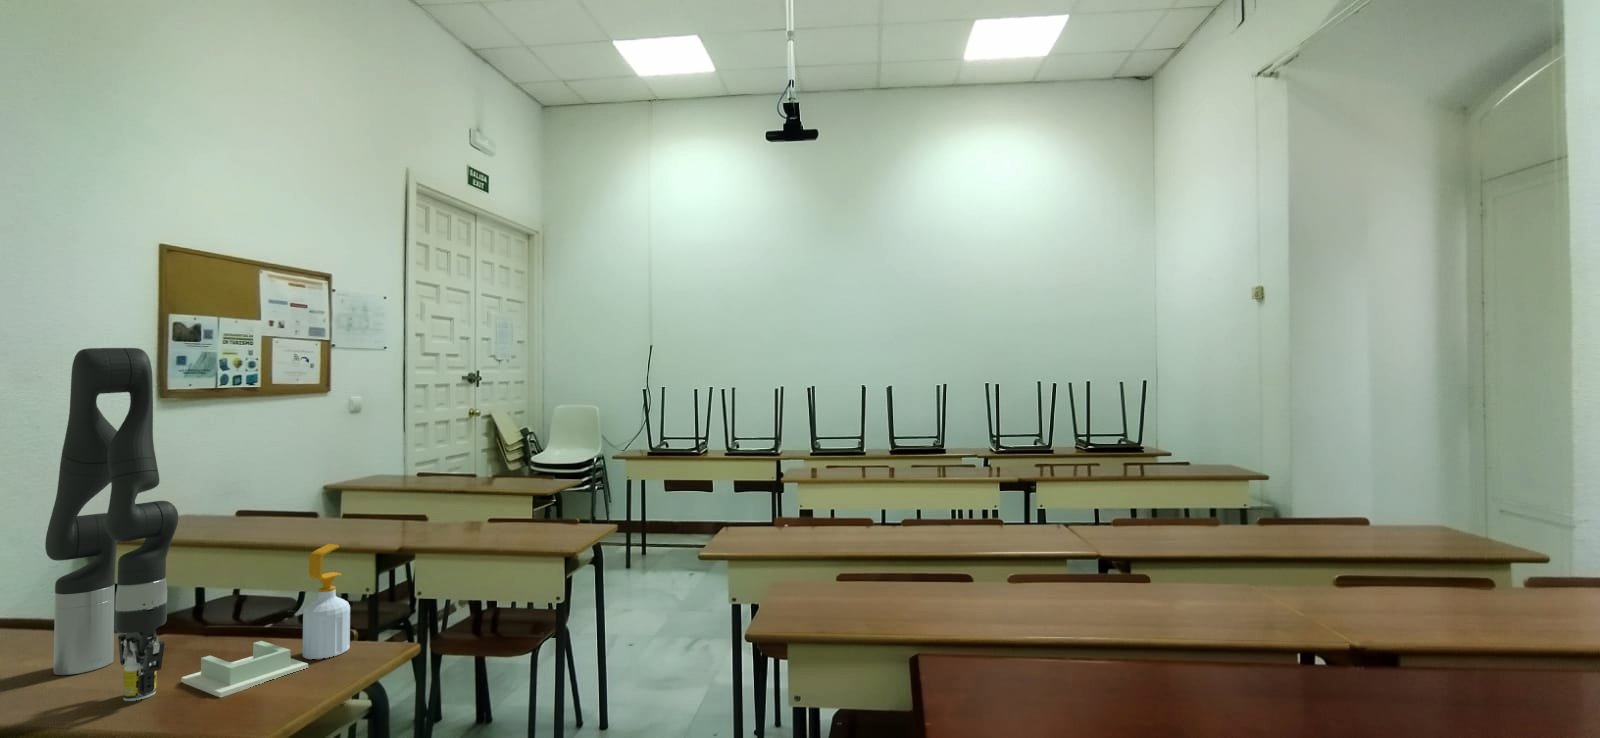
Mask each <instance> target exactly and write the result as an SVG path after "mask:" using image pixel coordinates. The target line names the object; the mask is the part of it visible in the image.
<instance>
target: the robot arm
mask: <svg viewBox="0 0 1600 738" xmlns="http://www.w3.org/2000/svg"><path fill="white" fill-rule="evenodd" d="M70 377H71V379H70V397H69V398H70V399H69V413H68V420H67V421H68V422H67V426H66V433H65V435H64V436H65V437H64V441H63V445H62V450H61V456H60V463H59V473H58V481H57V491H56V495H55V500H54V504H53V508H52V511H51V516H50V518H49V523H48V526H47V531H46V534H45V541H44V542H45V543H44V546H45V551H46V554H47V556H48V558H49V559H50V560H52V561H59V562H60V561H61V562H62V561H70V560H77V559H84V558H92V559H91V561H90V562H88V563H87V564H86V565H84V566H83V567H80V568H79V569H76V570H74V571H72V572H69V573H67V574H65V575H63V576H61V577H59V578H58V579H57V580H56V581H55V584H54V622H53V624H54V625H53V626H54V627H53V628H54V632H53V633H54V634H53V635H54V636H53V667H52V668H53V671H52V672H53V675H56V676H67V675H68V676H69V675H76V674H77V675H78V674H83V673H87V672H91V671H95V670H98V669H100V668H102V669H103V668H104V667H106V666H109V665H110V664H112V663H113V662H114V653H115V652H114V648H115V647H114V645H115V632H116V633H118V634H119V635H118V636H117V640H118V651H119V652H118V653H119V663H120V665H121V666H123V668H125V667H126V666H127V665H128V664H127V656H128V655H130V654H131V655H133V661H134V664H137V665H138V674H139V678H138V693H139V694H146V693H149V692H152V691H153V690H154V674H155V672H156V671H157V672H158V671H161V670H162V665H163V657H164V651H165V645H166V643H165V641H164V640H162V641H159V637H158V635H157V632H156V630H157V628H159V627H161V626H163V625H165V624H166V622H167V620H168V619H167V618H168V617H167V615H168V586H167V578H166V576H167V574H166V573H167V556H168V553H169V550H170V547H171V544H172V541H173V539H174V536H175V533H176V530H177V528H178V524H179V512H178V509H177V508H176V506H175V505H174V504H173V503H172V502H169V501H167V500H155V501H149V502H141V503H136V499H137V496H138V494H140V493H144V492H147V491H150V490H151V491H152V490H153V489H155V488H157V487H158V486H159V485H160V474H159V469H158V464H157V463H158V462H157V456H156V452H155V446H154V444H155V443H154V429H153V428H154V391H153V388H154V385H153V384H154V383H153V382H154V381H153V370H152V364H151V359H150V357H149V355H148V353H146V352H145V350H143V349H142V348H138V347H96V348H95V347H92V348H91V347H90V348H83V349H80V350H79V351H78V352H76V354H75V356H74V358H73V362H72V367H71V375H70ZM119 393H121V394H122V393H128V394H129V399H130V403H129V409H128V411H127V412H128V413H127V414H126V416H125V418H124V420H123V422H122V423H121V425H120V426H119V428H118V430H117V429H116V428H115V427H114V426H113V425H112V424H111V423H110V422H109V421H108V420H107V418H106V417H105V416H104V414H103V413H102V412H101V411H100V409H99V407H98V404H97V399H98V396H99V395H101V394H119ZM110 484H111V489H110V496H109V504H108V508H107V512H102V513H101V512H100V513H93V514H83V515H79V513H80V512H81V511H82V509H83V508H84V507H85V505H87V503H88V502H90V500H92V499H93V498H94V497H96V496H97V495H98V494H99V493H100V492H101V491H103V490H104V489H105V488H106V487H107V486H108V485H110ZM141 539H142V540H143V539H144V541H143V542H142V544H141V545H140V547H138V548H136V549H134V550H131V551H128V552H126V553H123V554H122V555H121V556H120V557H119V559H118V561H116V558H117V547H118V542H119V543H120V542H121V543H123V542H126V543H127V542H131V541H132V542H133V541H137V540H141ZM116 562H118V563H117V586H116V585H115V584H116V581H115V580H116V576H115V575H116ZM115 586H116V587H115ZM115 588H116V592H115ZM142 656H145V657H144V658H140V657H142ZM143 663H144V664H143ZM150 663H151V666H149V664H150ZM157 672H156V673H157Z"/></svg>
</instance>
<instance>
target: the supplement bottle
mask: <svg viewBox="0 0 1600 738" xmlns="http://www.w3.org/2000/svg"><path fill="white" fill-rule="evenodd" d="M144 657H145V656H142V657H140V658H144ZM127 664H128V665H127V666H126V667H125V668H124V667H123V668H124V669H123V691H122V692H123V693H122V695H123V696H122V698H123V699H122V700H123V701H125V702H136V700H137V701H141V699H142V700H145V699H147V698H151V697H152V696H154V695H155V694H156V692H157V672H158V671H156V672H155V674H154V690H153V691H152V692H149V693H146V694H139V693H138V678H139V674H138V665H137V664H134V661H133V655H131V654H130V655H128V656H127ZM143 664H144V663H143ZM149 666H151V663H150V664H149Z"/></svg>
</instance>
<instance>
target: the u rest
mask: <svg viewBox="0 0 1600 738" xmlns="http://www.w3.org/2000/svg"><path fill="white" fill-rule="evenodd" d="M252 645H253V650H252V651H253V652H252V654H253V655H252V656H248V657H245V658H241V659H238V660H235V661H231V662H230V661H227V660H225V659H222V658H218V657H215V656H213V655H207V656H204V657H201V658H200V671H198V672H194V673H191V674H188V675H184V676H182V677H181V681H180V682H181V683H182V682H183V683H182V684H185V685H186V686H187V685H188V686H190V687H192V688H194V689H198V690H200V691H202V692H204V693H208V694H210V695H213V696H215V697H218V698H223V697H227V696H229V695H233V694H235V693H239V692H241V691H244V690H247V689H251V688H254V687H256V686H255V685H257V686H259V685H258V684H260V685H263V684H265V683H264V682H266V681H269V680H272V679H275V680H277V679H276V678H278V677H281V676H284V675H287V674H290V673H293V672H296V671H299V670H302V671H304V670H303V669H305V670H307V669H306V668H308V669H309V663H307V662H303V661H301V660H297V659H294V658H291V655H292V653H291V652H292V650H291V649H289V648H287V647H282V646H280V645H276V644H273V643H270V642H266V641H263V640H260V641H256V642H253V644H252ZM299 672H300V671H299ZM296 673H297V672H296ZM293 674H294V673H293ZM290 675H291V674H290ZM287 676H288V675H287ZM284 677H285V676H284ZM281 678H282V677H281ZM278 679H279V678H278ZM272 681H273V680H272ZM269 682H270V681H269ZM262 683H263V684H262ZM266 683H267V682H266ZM253 686H254V687H253ZM250 687H251V688H250Z"/></svg>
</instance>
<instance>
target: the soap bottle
mask: <svg viewBox="0 0 1600 738" xmlns="http://www.w3.org/2000/svg"><path fill="white" fill-rule="evenodd" d="M339 548H340V546H339V544H334V543H328V544H325V545H323V546H321V547H320V548H317V549H316V550H314V551H312V552H311V553H310V555H309V558H308V559H309V564H308V569H309V571H308V574H309V577H310V578H312V579H317V580H319V582H320V583H322V587H319V588H318V598H317V599H316V600H314V601H313V602H311V603H310V604H309V605H307V606H306V607H305V608H304V610H303V614H302V657H303V658H304V659H307V660H312V659H316V660H324V659H323V658H325V659H330V658H333V656H334V657H337V656H339V655H342V654H344V653H346V652H347V651H348V650H350V648H351V647H350V645H351V605H350V604H349V601H347V600H345V599H344V598H341V597H338V596H337V594H336V591H337V589H336V588H337V587H336V586H335V585H333V584H332V582H334V581H335V578H337V577H341V576H342V573H340V572H336V571H335V572H334V571H332V572H331V571H330V572H326V573H322V571H323V567H322V566H323V558H324V557H325V556H326V555H327V554H329V553H331V552H333V551H335V550H336V549H339ZM329 657H330V658H329Z"/></svg>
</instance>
